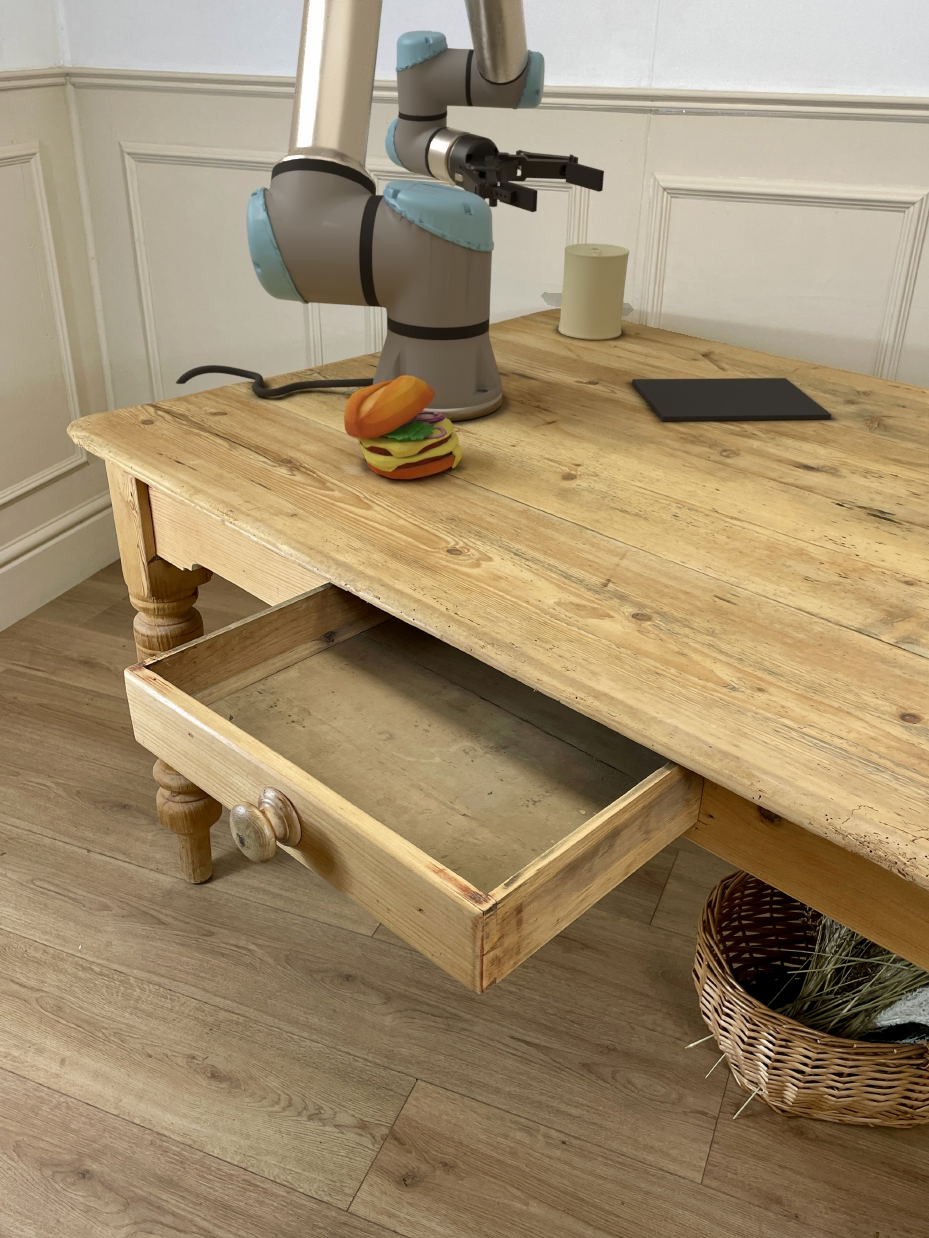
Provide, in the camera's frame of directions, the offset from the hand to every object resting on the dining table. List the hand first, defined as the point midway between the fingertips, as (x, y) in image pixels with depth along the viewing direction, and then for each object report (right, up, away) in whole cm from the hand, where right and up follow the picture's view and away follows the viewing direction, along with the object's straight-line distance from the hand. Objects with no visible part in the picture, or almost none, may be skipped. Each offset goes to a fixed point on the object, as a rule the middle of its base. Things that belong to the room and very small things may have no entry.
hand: (569, 191), depth 138 cm
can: (+4, -17, +8) cm, 20 cm away
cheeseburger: (-21, -44, -38) cm, 62 cm away
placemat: (+17, -33, -18) cm, 41 cm away
